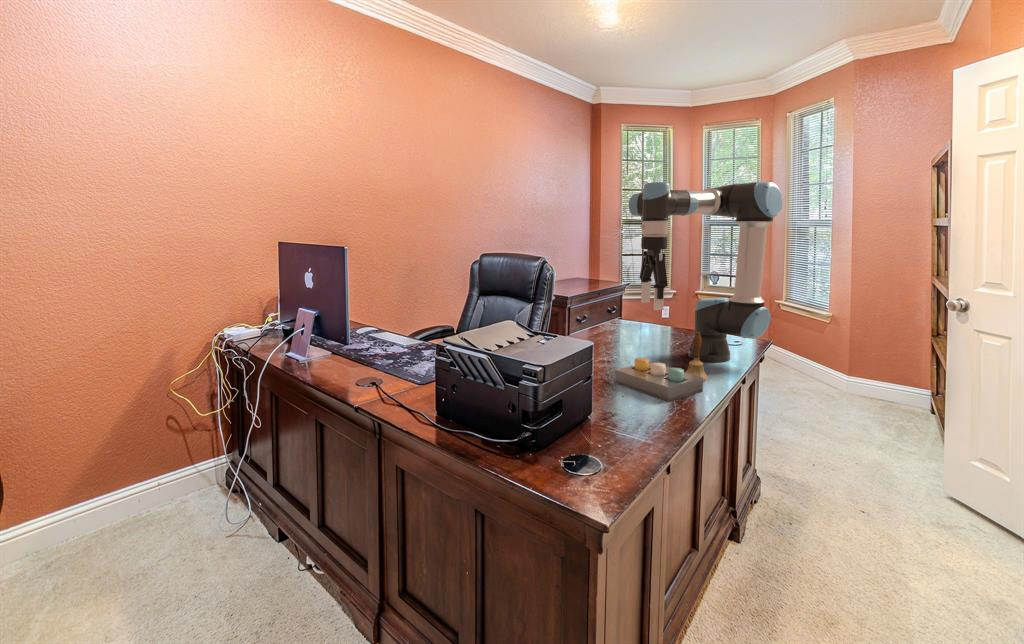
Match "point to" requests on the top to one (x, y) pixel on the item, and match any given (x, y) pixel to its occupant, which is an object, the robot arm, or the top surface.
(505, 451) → the top surface
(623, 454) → the top surface
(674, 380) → the teal button
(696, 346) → the hand bell
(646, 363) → the amber button
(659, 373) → the ivory button
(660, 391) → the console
